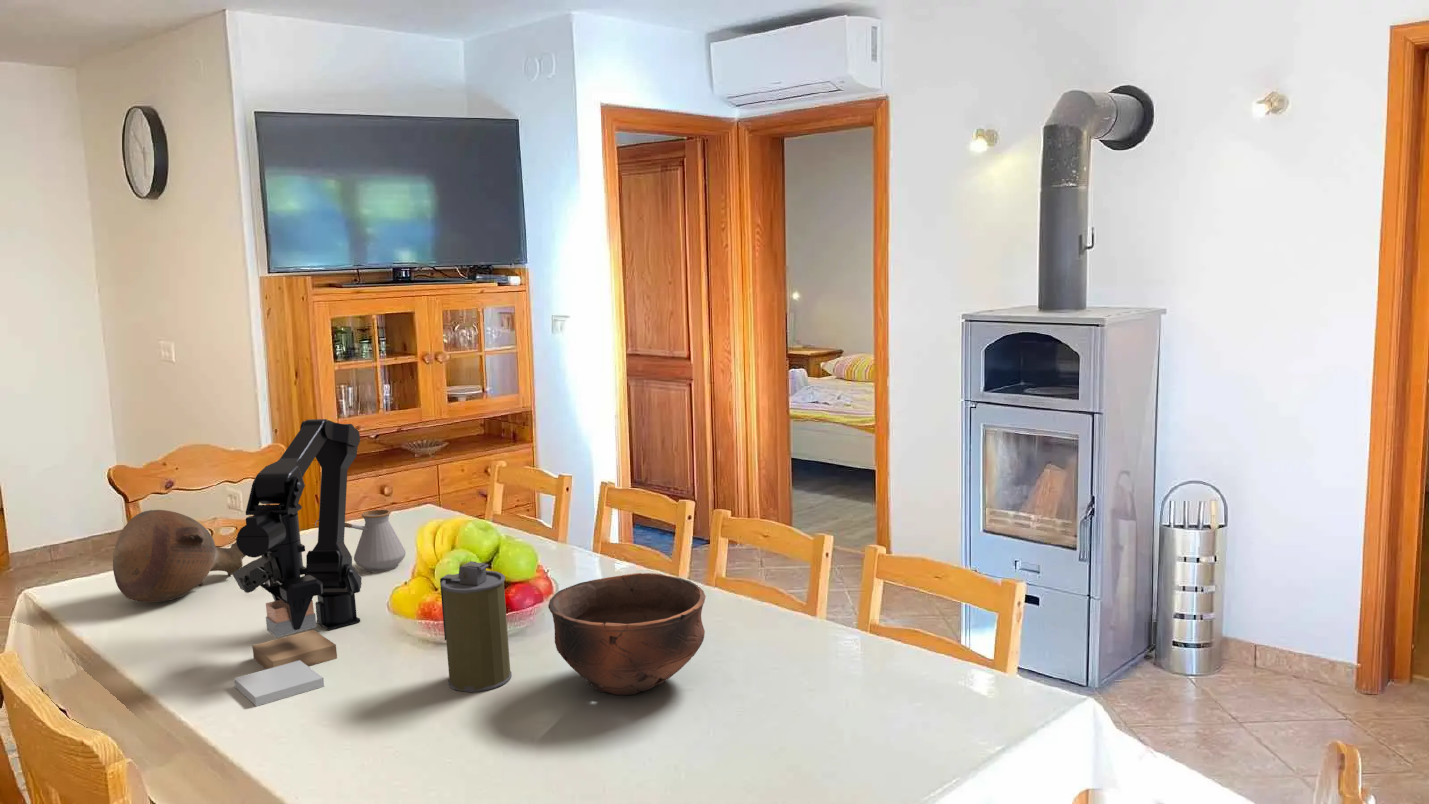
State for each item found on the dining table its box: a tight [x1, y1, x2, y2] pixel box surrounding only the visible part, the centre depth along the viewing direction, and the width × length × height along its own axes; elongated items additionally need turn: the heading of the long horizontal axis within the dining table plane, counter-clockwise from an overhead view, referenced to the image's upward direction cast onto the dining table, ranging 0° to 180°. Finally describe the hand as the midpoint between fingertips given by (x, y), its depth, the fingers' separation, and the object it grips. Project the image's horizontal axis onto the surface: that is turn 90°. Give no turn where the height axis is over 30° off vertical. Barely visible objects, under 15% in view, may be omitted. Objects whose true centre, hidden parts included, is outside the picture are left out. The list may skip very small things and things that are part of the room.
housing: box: [265, 599, 317, 638], centre depth 191 cm, size 7×5×5 cm
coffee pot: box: [314, 509, 407, 573], centre depth 243 cm, size 21×12×15 cm, turn 146°
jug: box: [112, 509, 246, 603], centre depth 233 cm, size 20×20×30 cm
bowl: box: [547, 572, 707, 696], centre depth 175 cm, size 25×25×15 cm
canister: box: [439, 560, 513, 693], centre depth 179 cm, size 11×10×20 cm
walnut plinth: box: [251, 629, 338, 670], centre depth 193 cm, size 11×11×2 cm
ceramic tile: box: [233, 660, 325, 707], centre depth 180 cm, size 11×11×2 cm
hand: (291, 625), depth 192 cm, fingers closed on housing, 5 cm apart
